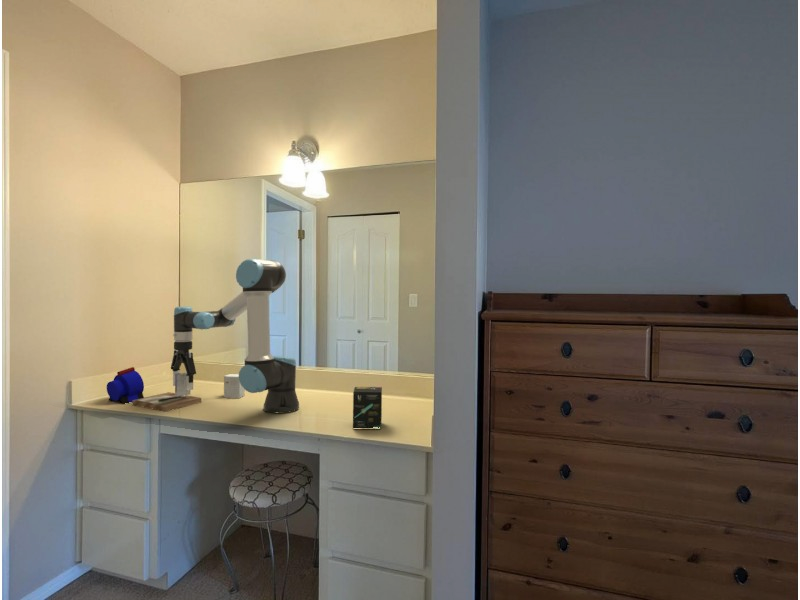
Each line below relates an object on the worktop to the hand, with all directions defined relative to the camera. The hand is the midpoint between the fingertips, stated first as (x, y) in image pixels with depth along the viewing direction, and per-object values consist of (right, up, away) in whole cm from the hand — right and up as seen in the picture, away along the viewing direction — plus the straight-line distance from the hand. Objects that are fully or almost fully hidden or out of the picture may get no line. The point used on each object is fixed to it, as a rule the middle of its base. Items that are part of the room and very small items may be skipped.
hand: (183, 387), depth 205 cm
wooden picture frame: (-6, -7, -1) cm, 10 cm away
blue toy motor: (-28, -7, +2) cm, 29 cm away
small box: (+18, -7, +14) cm, 24 cm away
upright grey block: (-3, -4, -2) cm, 6 cm away
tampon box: (+86, -10, -29) cm, 91 cm away
